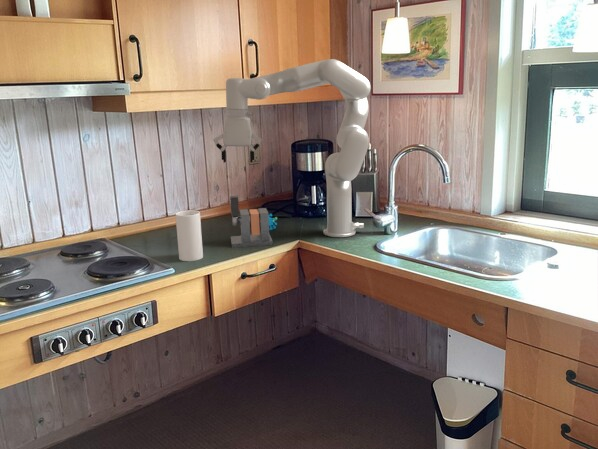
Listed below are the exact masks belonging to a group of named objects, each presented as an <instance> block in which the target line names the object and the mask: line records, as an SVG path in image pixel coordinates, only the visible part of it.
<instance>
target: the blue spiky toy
mask: <svg viewBox="0 0 598 449" xmlns="http://www.w3.org/2000/svg"><path fill="white" fill-rule="evenodd" d="M277 220H278V217H277V216H275V217H273V214H272V213H269V232H272V231H273V230H275V229H276V228H277V225H278V222H277Z"/></svg>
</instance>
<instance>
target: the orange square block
mask: <svg viewBox="0 0 598 449" xmlns="http://www.w3.org/2000/svg"><path fill="white" fill-rule="evenodd" d="M248 212H249V216H250V217H251V223H250V235H260V227H259V213H258V208H251V209H248Z"/></svg>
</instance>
